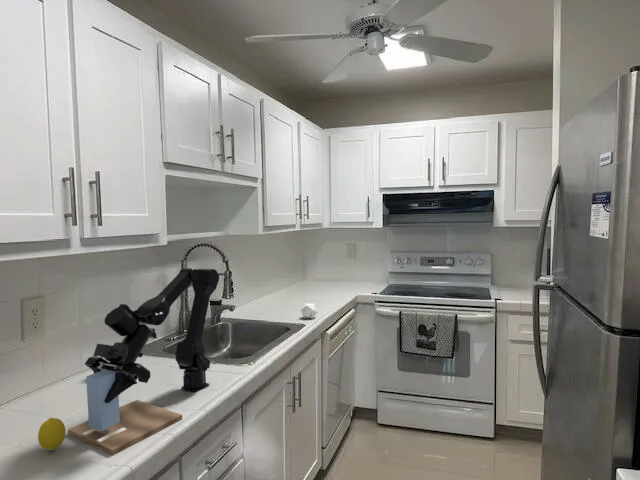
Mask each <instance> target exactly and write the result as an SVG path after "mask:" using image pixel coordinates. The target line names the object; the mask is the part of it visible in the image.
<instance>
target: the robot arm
mask: <svg viewBox="0 0 640 480" xmlns="http://www.w3.org/2000/svg"><path fill="white" fill-rule="evenodd" d="M219 281H220V274H219V272H218V271H217V270H216V269H215V268H197V269H196V268H194V267H193V268H192V267H183V268H182V269H180V270H179V272H178V274H177V275H176V276H175V277H174V278H173V279H172V280H171V281H170V282H169V283H168V284H167V285H166V286H165V287H164V289H163V288H162V289H163V290H162V291H160V292H159V294H157V295H156V296H154V297H153V298H152V297H151V298H150V299H148V300H146V301H145V302H143V303H142V304H141V305H139V306H138V308H137V309H135V310H132V309H131V308H130V307H129V306H128V305H127V304H126V303H123V304H122V303H120V304H119V306H118V307H115V308H114V309H112V310H111V311H110V312H108V313H107V314H106V316H105V317H104V324H105V325H106V326H107V327H108V328H110V329H111V330H112V331H113V332H115V333H116V334H117V335H119V336H120V337H124V338H123V339H122V341H121V342H118V341H117V342H114V344H113V345H111V344H110V345H109V344H103V343H96V347H95V349H94V353H93V355H92V356H90V357H88V358H87V360H86V361H85V362H84V366H86V367H88V368H89V369H91V370H92V372H93V374H94V373H97V372H99V371H102V370H108V371H113V372H115V381H114V383H113V385H112V387H111V389H110V390H109V392H108V394H107V396H106V398H105V401H104V402H105V403H109V402H110V401H112V400H113V399H114V398H116V397H117V396H118V395H119V396H120V395H121V394H122V393H123V392H125V391H127V390H129V388H131V387H132V386H134V385H137V384H138V382H139V383H144V384H148V382H149V380H150V378H151V376H152V375H151V371H150V370H149V369H148V368H147V367H145V366H144V365H142V364H141V363H137V362H136V361H137V359H138V358H142V357H143V355H144V353H142V350H143V349H144V347H145V345H146V344H147V342H148V341H149V339H157V338H158V336H157V332H156V328H151V327H149V326H150V325H151V326H160V325H162V324H163V323H164V322H165V321H166V318H168V315H169V314H170V311H171V310H170V309H171V307H172V305H173V304H174V303H175V302H176V301H177V299H178V298H179V297H180V296H181V295H182V294H183V293H184V292H185V291H186V289H187V288H188V287H189V286H190V285H191V287H192V290H193V292H194V297H193V302H192V306H191V311H190V317H189V321H188V326H187V331H186V335H185V337H184V339H183V340H182V341H178V342H177V345H176V350H175V353H174V355H175V361H176V363H177V365H178V367H179V370H183V380H182V381H183V385H182V386H181V387H180V388H181V390H185V391H189V392H192V393H195V392H198V391H200V390H203V389H204V388H207V387H209V386H210V383H208V382H207V377H206V376H207V375H206V374H207V373H206V372H207V370H208V369H210V366H211V360H209V358H207V356H205V346H204V343H203V341H202V339H203V334H204V333H203V332H204V328H205V325H206V324H205V323H206V319H207V318H206V317H207V313H208V307H209V303H210V298H211V295H212V294H214V292H215V291H216V289H217V286H218V284H219ZM148 325H149V326H148ZM102 357H103V358H105V360H104V359H103V358H102ZM106 360H107V361H109V362H110V363H109V362H107V361H106ZM137 380H138V381H137Z"/></svg>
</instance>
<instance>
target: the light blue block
mask: <svg viewBox="0 0 640 480" xmlns="http://www.w3.org/2000/svg"><path fill="white" fill-rule="evenodd" d="M85 380H86V394H87V395H86V396H87V413H88V415H87V416H88V421H89V427H91V428H94V429H97V430H100V431H104V430H106V429H107V428H109V427H111V426H113V425H115V424H117V423H119V422H120V413H119V407H120V399H119V398H120V397H119V396H120V395H118V396H117V397H116V398H114V399H113V400H112V401H110V402H109V403H105V402H104V401H105V398H106V396H107V394H108V392H109V390H110V389H111V387H112V385H113V383H114V381H115V372H113V371H108V370H102V371H99V372H97V373H94V372H93V373H91V374H90V375H87V376H86V379H85Z"/></svg>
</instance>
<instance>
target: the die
mask: <svg viewBox="0 0 640 480" xmlns="http://www.w3.org/2000/svg"><path fill="white" fill-rule="evenodd" d="M300 312H301V314H302V317H303V319H306V318H311V319H310V320H314V318H315V316H316V315H317V313H318V310H317V308H316V305H315V303H305V304H304V305H303V306H302V307H301V309H300Z"/></svg>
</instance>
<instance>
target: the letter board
mask: <svg viewBox="0 0 640 480" xmlns="http://www.w3.org/2000/svg"><path fill="white" fill-rule="evenodd" d="M119 413H120V422H119V423H117V424H115V425H113V426H111V427H109V428H107V429H106V430H104V431H100V430H97V429H94V428H91V427H89V420H86V421H84V422H82V423H79V424H77V425H74V426H72V427H69V428H68V429H67V434H68V435H69V436H72V437H74V438H76V439H78V440H80V441H82V442H84V443H86V444H89V445H91V446H93V447H95V448H97V449H99V450H101V451H103V452H106V453H108V454H109V455H112V456H114V455H116V454H118V453H120V452H122V451H124V450H126V449H128V448H130V447H131V446H134V445H135V444H138V443H139V442H141V441H143V440H145V439H147V438H149V437H151V436H152V435H154V434H156V433H158V432H160V431H162V430H164V429H166V428H168V427H170V426H171V425H174V424H176V423H178V422H180V421H181V420H183V414H181V413H178V412H175V411H172V410H169V409H166V408H162V407H160V406H157V405H155V404H152V403H151V404H150V403H147V402H145V401H143V400H140V399H139V400H138V399H136V400H134V401H132V402H129V403H127V404H124V405H122V406H119Z"/></svg>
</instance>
